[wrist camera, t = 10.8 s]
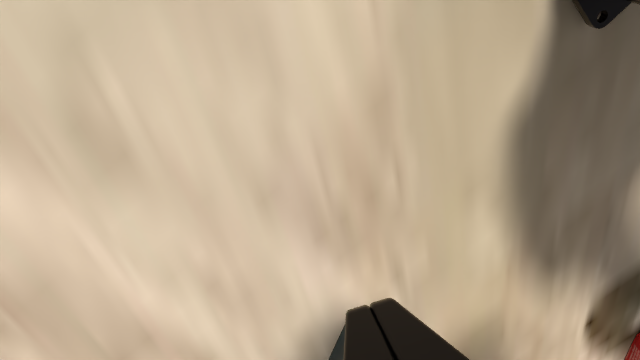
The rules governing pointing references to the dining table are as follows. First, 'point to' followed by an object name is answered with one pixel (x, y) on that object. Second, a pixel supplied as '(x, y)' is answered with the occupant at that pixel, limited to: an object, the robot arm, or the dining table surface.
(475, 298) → the dining table surface
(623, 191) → the dining table surface
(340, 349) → the watch
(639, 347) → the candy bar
